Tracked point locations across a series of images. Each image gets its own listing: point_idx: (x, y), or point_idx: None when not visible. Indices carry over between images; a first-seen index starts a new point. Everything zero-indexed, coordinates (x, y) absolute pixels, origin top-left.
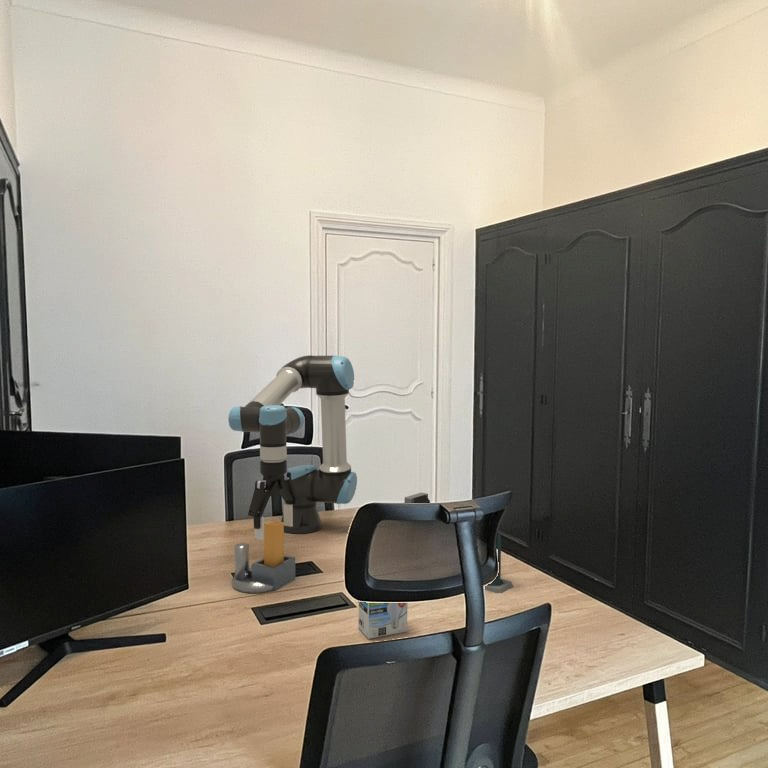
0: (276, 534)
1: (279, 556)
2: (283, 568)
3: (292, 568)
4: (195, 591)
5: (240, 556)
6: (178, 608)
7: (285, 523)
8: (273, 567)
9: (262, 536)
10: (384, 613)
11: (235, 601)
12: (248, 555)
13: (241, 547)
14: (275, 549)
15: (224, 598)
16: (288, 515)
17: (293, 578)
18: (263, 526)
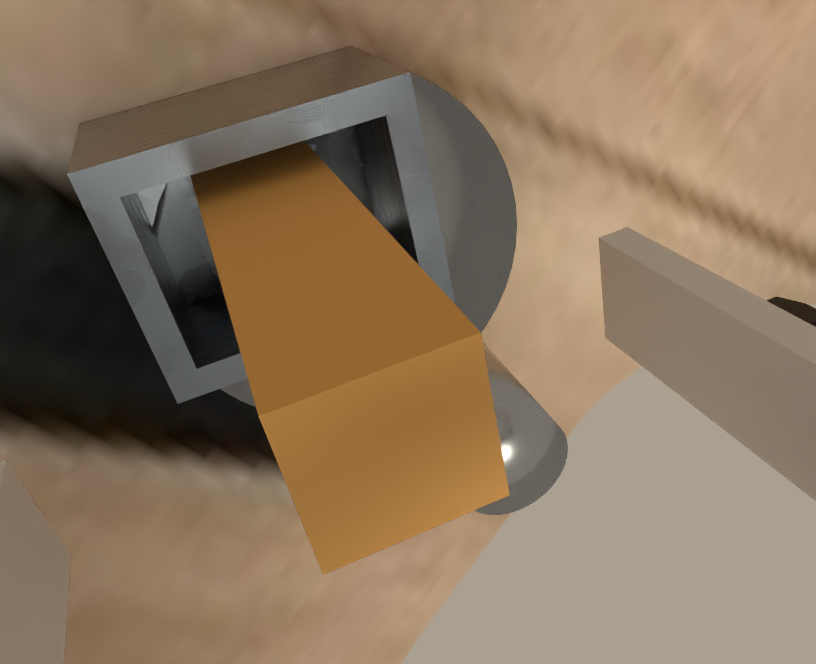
0: (402, 281)
1: (277, 201)
2: (266, 103)
3: (120, 135)
4: (621, 362)
5: (521, 385)
6: (786, 233)
7: (54, 558)
8: (400, 99)
9: (657, 243)
10: None
11: (606, 100)
12: None
13: (549, 425)
14: (365, 210)
15: (608, 185)
16: (9, 629)
17: (106, 119)
18: (729, 303)
